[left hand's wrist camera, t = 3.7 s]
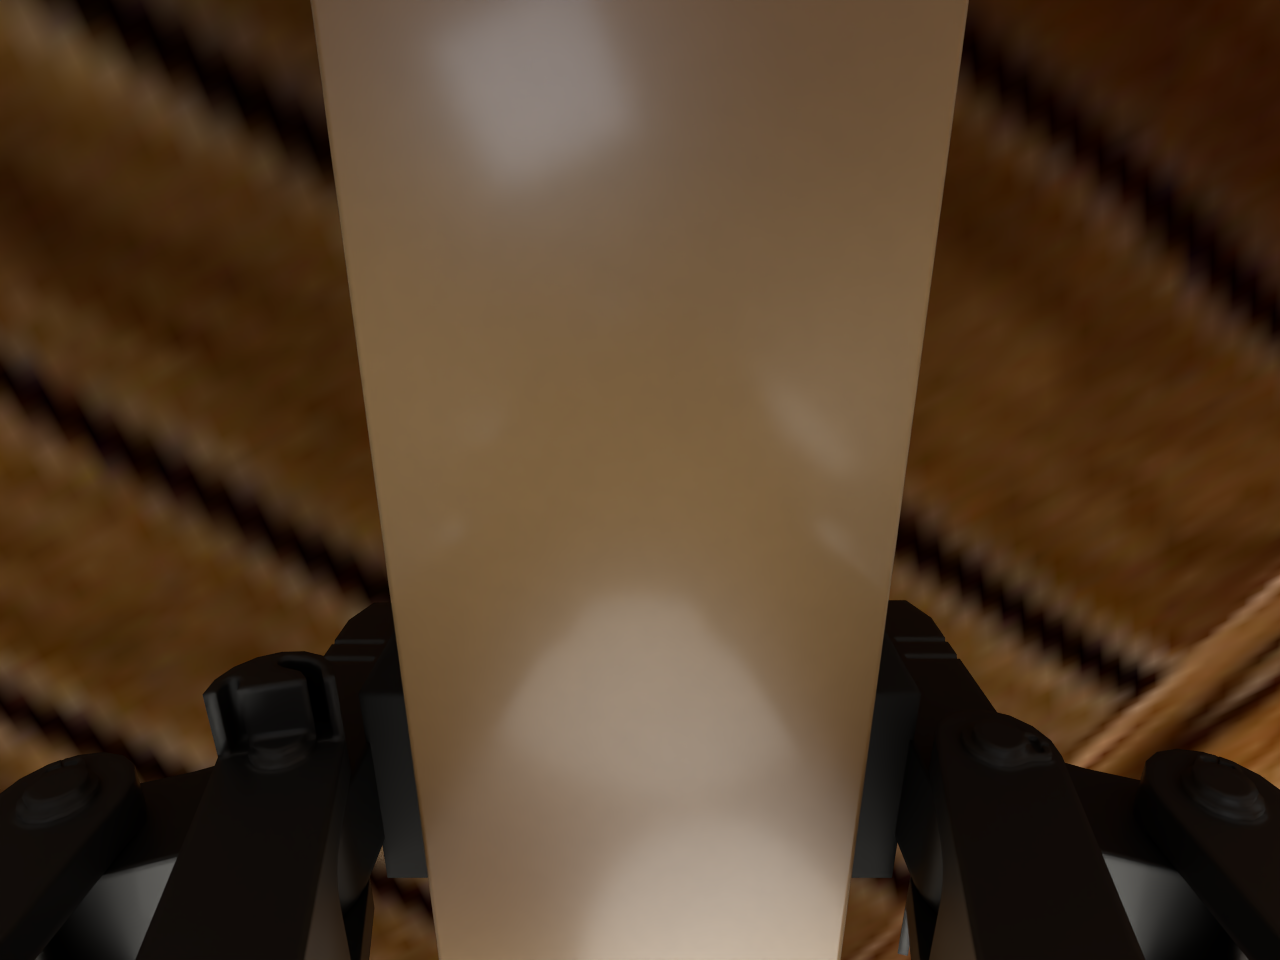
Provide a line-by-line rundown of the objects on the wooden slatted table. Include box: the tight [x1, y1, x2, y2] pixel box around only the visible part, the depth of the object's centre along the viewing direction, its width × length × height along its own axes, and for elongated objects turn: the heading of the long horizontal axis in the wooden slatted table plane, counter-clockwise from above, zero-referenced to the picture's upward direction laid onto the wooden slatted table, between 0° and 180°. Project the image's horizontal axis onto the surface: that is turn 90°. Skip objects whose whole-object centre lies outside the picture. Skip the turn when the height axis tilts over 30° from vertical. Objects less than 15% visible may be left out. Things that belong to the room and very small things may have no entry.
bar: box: [310, 0, 969, 960], centre depth 9 cm, size 24×5×8 cm, turn 0°
